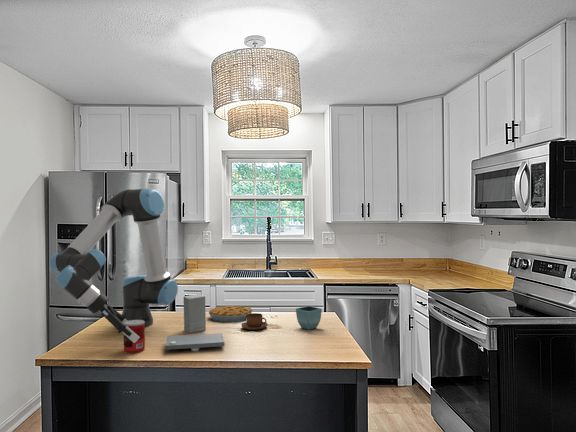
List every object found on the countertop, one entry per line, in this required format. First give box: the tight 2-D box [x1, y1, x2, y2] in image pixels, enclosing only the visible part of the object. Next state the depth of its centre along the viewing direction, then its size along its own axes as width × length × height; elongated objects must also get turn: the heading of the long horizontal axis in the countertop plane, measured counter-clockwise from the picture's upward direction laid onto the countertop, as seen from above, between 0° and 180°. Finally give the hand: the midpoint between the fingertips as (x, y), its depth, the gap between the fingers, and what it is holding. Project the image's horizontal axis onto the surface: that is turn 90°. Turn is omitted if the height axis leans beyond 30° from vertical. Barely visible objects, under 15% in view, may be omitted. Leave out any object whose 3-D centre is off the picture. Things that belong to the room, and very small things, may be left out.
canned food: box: [123, 320, 146, 354], centre depth 182 cm, size 8×8×11 cm
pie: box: [208, 305, 253, 323], centre depth 238 cm, size 22×22×5 cm
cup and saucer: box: [240, 312, 269, 331], centre depth 216 cm, size 12×12×6 cm
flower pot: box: [295, 305, 323, 330], centre depth 215 cm, size 9×9×9 cm
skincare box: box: [183, 293, 207, 334], centre depth 212 cm, size 8×7×16 cm
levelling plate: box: [165, 332, 226, 352], centre depth 186 cm, size 14×22×3 cm, turn 102°
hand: (136, 335), depth 181 cm, fingers open, 13 cm apart
